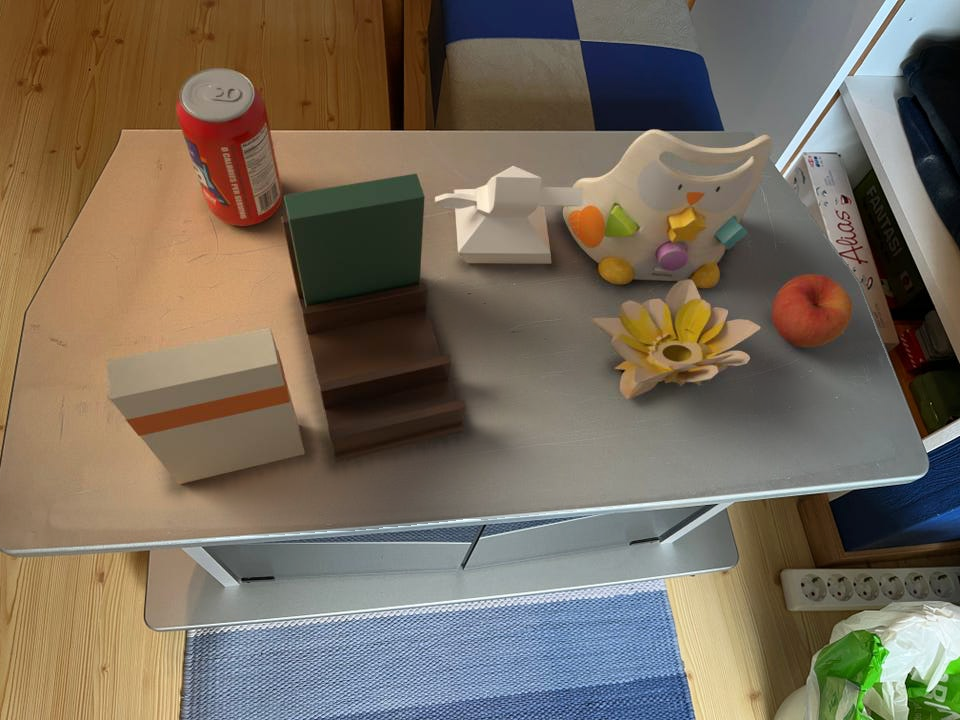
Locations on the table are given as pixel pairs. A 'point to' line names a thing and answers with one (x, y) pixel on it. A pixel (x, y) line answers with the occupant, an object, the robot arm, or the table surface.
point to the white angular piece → (506, 217)
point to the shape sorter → (666, 211)
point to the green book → (357, 238)
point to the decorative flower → (674, 340)
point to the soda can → (230, 145)
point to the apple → (811, 310)
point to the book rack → (378, 369)
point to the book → (209, 404)
